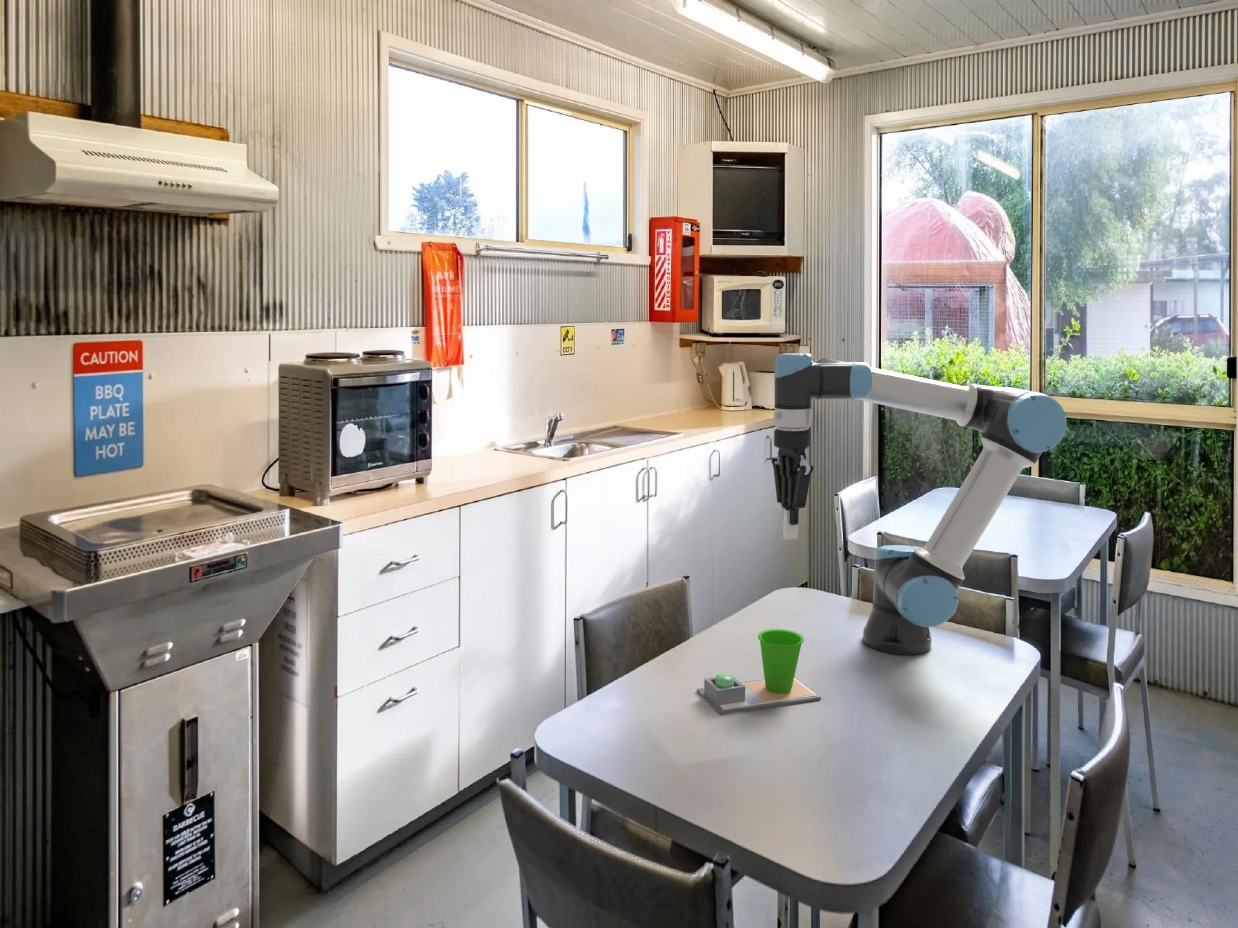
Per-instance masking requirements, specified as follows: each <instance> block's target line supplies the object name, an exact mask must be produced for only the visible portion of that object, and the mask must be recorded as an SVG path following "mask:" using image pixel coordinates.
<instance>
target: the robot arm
mask: <svg viewBox="0 0 1238 928" xmlns="http://www.w3.org/2000/svg"><path fill="white" fill-rule="evenodd" d="M774 369H775V370H774V414H773V417H774V418H773V419H774V423H773V424H774V427H776V428H775V429H774V430H773V446H774V447H775V448H778V451H777V456H772V457H771V465H772V468H773V475H774V484H775V485H774V486H775V494H776V502H777V503H780V504H781V508H782V509H783V510H782V521H783V522H782V539H783V540H786V541H790V540H797V539H798V538H799V536H798V535H799V517H800V516H799V514H800V513H799V511H800V509H804V508H806V505H807V500H808V493H809V488H810V487H809V486H810V483H811V481H810V480H811V476H812V473H813V471H814V465H812V464H809V463H808V462H807V455H806V449H808V448H810V447H811V439H812V438H811V437H812V436H811V435H812V431H811V429H809V428H810V427H811V426H812V400H852V401H853V400H857V401H863V402H867V403H872V404H877V405H882V406H887V407H891V408H896V409H901V410H906V411H910V412H915V413H920V414H925V415H928V416H929V415H930V416H934V417H938V418H939V417H940V418H942V419H948V420H949V419H950V420H954V421H956V423H957V425H958V426H960V427H964V428H969V429H973V430H976V431H978V432H981V433H983V434H982V436H981V437H980V439H981V440H980V441H981V443H982V446H983V448H982V451H981V453H980V454H979V456H978V458H977V459H976V460H975V463H974V464H973V465H972V468H971V469H970V470H969V472H968V474H967V476H966V477H965V479H964V481H963V483H962V484H961V485H960V488H959V489H958V491H957V492H956V494H955V496H954V498H953V499H952V501H951V502H950V504H949V506H948V507H947V509H946V511H945V513H944V514H942V515H943V516H941V519H940V521H939V522H938V524H937V525H936V527H935V529H934V530H933V532H932V534H931V536H930V537H929V539H928V541H927V542H926V543H925V545H924V546H922V547H921V546H914V545H905V544H904V545H902V544H901V545H900V544H899V545H898V544H892V545H891V544H890V545H882V546H880V547H878V548H877V549H876V551H875V557H874V573H873V575H874V576H873V579H874V580H873V594H872V609H871V611H870V614H869V616H868V619H867V620H866V624H865V626H864V628H863V631H862V641H863V643H864V644H865V645H867V646H868V647H870V648H872V649H875V650H876V651H880V652H884V653H886V654H893V655H902V656H907V655H908V656H910V655H920V654H924V653H927V652H929V650H931V647H932V635H931V630H930V628H932V627H936V626H940V625H942V624H945V623H946V622H948V621H949V620H950V619H951V618H952V617H953V615H954V614H955V613H956V611H957V608H958V605H959V596H958V595H959V594H958V590H959V589H960V587H961V585H962V583H963V582H964V580H965V574H964V571H963V567H964V565H965V563H966V562H967V560H968V558H969V557H970V555H971V554H972V551H974V549H975V547H976V545H977V544H978V542H979V541H980V538H981V537H982V535H983V534H984V533H985V531H986V529H987V528H988V526H989V524H990V522H991V521H992V519H993V518H994V517H995V514H996V513H997V512H998V509H999V508H1000V506H1001V505H1002V503H1003V502H1004V500H1005V499H1006V497H1007V495H1008V493H1009V491H1010V490H1011V489H1012V487H1013V485H1014V483H1015V482H1016V480H1017V479H1018V478H1019V475H1020V474H1021V472H1022V471H1023V470H1024V469H1026V468H1029V467H1034V466H1035V465H1036V463H1037V462H1038V459H1040V457H1041V455H1042V454H1043V453H1044V452H1048V451H1049V450H1052V449H1054V448H1055V447H1057V446H1058V444H1059V443H1061V441H1062V440H1063V438H1064V436H1065V433H1066V431H1067V424H1068V423H1067V417H1066V413H1065V410H1064V408H1063V406H1062V405H1061V404H1060V403H1059V402H1058V400H1056V399H1055V398H1054V397H1052V396H1050V395H1047V394H1046V393H1043V392H1040V391H1037V390H1026V389H1022V388H1018V387H1014V386H1013V387H1009V386H989V385H982V384H976V383H967V384H966V385H958V384H953V383H950V382H949V383H948V382H944V381H939V380H934V379H929V378H925V377H920V376H915V375H909V374H904V373H900V372H896V371H891V370H889V371H888V370H885V369H880V368H877V367H871V365H870V364H869V363H867V362H864V361H863V362H861V361H859V362H857V361H847V362H846V361H841V360H837V359H834V358H832V357H831V358H830V357H824V358H823V357H821V358H819V359H816V360H815V361H814V360H813V355H812V354H811V353H807V352H800V353H799V352H788V353H786V352H785V353H780V354H778V355H777V357H776V358H775V367H774Z"/></svg>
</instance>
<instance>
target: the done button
mask: <svg viewBox="0 0 1238 928" xmlns="http://www.w3.org/2000/svg"><path fill="white" fill-rule="evenodd" d="M733 676H734V675H733ZM733 676H732V674H729V673H719V674H716V675H715V677H716V684H715V685H716V686H717V687H718V688H719V689H720V688H727V687H734V677H735V676H734V677H733Z"/></svg>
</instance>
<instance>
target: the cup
mask: <svg viewBox="0 0 1238 928" xmlns="http://www.w3.org/2000/svg"><path fill="white" fill-rule="evenodd" d="M757 639H758V640H759V643H760V652H761V659H762V660H761V661H762V669H763V677H764V679H765V686H766V688H767V690H768V691H770V692H772V693H776V694H785V693H788V692H790V690H791V689H792V685H793V680H794V676H795V675H796V670H797V666H798V663H799V656H800V652H801V647H802V644H803V643H804V641H805V639H804V637H803V635H801V634H800V633H798V632H796V631H793V630H790V629H784V628H770V629H765V630H762V631H760V632H759V633H758V635H757ZM795 677H796V676H795Z"/></svg>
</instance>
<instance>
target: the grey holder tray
mask: <svg viewBox="0 0 1238 928" xmlns="http://www.w3.org/2000/svg"><path fill="white" fill-rule="evenodd" d="M731 675H732V674H731ZM732 676H733V677H734V687H727V688H720V689H719V688H718V687H717V686H716V685H715V684H716V676H714V677H708V678H704V680H703V681H704V685H703V687H701V688H696V693H697V694H698V695H699V696H700V697H701V698H702V699H703V700H704V701H705V702H706V703H708V705H709V706H710V707H711V708H712V709H713V710H714V711H715V712H716V713H717V714H718V715H719V716H724V715H730V714H735V713H736V714H737V713H741V712H742V713H743V712H748V711H749V712H750V711H756V710H762V709H768V708H769V709H770V708H775V707H782V706H789V705H793V704H794V705H796V704H801V703H807V702H815V701H820V700H821V699H822V696H820V694H818V693H817V692H815V691H814V690H813V689H812V688H811V687H809V686H807V685H806V684H805V683H803V681H801V680H800V679H799V678H797V677H796V676H794V680H793V685H792V689H791V690H790V692H788V693H785V694H776V693H772V692H770V691H768V690H767V688H766V686H765V678H764V679H757V680H750V681H743V682H740V680H738V679H737V678H736V677H735V676H734V675H732Z"/></svg>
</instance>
